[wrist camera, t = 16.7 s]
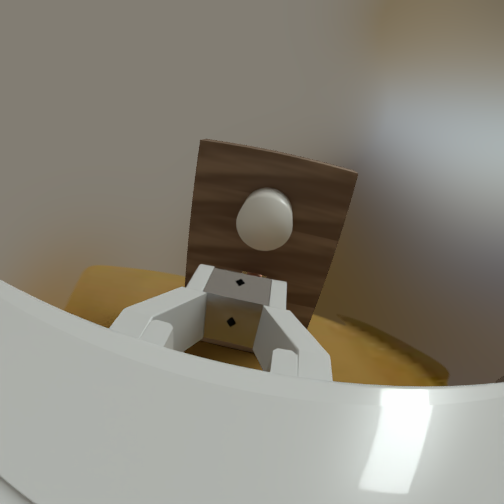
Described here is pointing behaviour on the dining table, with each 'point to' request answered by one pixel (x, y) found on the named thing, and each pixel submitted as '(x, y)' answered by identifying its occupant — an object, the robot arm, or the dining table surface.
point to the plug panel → (303, 214)
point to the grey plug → (265, 219)
